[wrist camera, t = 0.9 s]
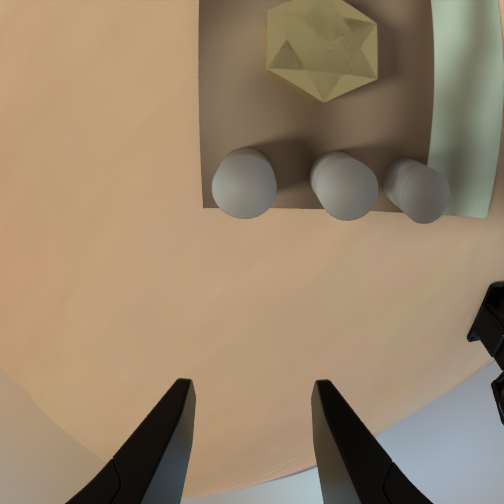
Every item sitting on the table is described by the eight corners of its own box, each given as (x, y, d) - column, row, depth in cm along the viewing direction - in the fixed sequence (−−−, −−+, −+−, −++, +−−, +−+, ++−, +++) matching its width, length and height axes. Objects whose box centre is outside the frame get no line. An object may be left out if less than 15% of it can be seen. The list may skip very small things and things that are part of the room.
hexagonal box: (356, 12, 12) (375, -2, 9) (356, 106, 15) (376, 108, 12) (265, 3, 12) (266, -16, 9) (264, 100, 15) (267, 99, 12)
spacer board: (490, -8, 10) (521, -15, 6) (481, 215, 18) (510, 236, 15) (204, -67, 10) (194, -96, 7) (205, 203, 18) (193, 228, 15)
